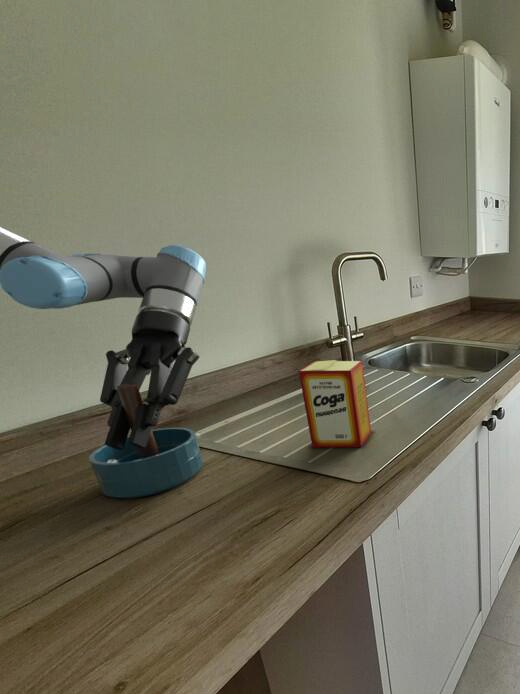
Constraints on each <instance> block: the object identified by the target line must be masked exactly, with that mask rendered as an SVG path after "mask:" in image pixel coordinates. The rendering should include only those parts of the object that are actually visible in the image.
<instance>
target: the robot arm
mask: <svg viewBox="0 0 520 694" xmlns="http://www.w3.org/2000/svg"><path fill="white" fill-rule="evenodd" d="M206 271H207V264H206V261H205V259H204V258H203V257H202V256H201V255H200V254H199V253H198V252H196V251H194V249H193V250H192V249H191V248H188V247H185V246H183V245H178V244H177V245H176V244H170V245H166V246H163V247H162V248H160V250H159V251H158V252H157V254H156V256H154V257H153V256H129V255H127V256H126V255H117V254H116V255H114V254H102V253H75V254H72V255H63V254H60V253H58V252H56V251H53V250H51V249H49V248H47V247H45V246H42V245H41V244H38V243H36V242H34V241H33V240H30V239H28V238H26V237H24V236H22V235H20V234H18V233H15V232H14V231H11V230H9V229H7V228H5V227H3V226H1V225H0V286H1V289H2V290H3V291H4V293H6V294H8V296H9V297H11V298H12V300H13V301H15V302H16V303H18V304H20V305H22V306H24V307H28V308H31V309H35V310H36V309H37V310H49V309H50V310H51V309H53V310H55V309H57V310H58V309H66V308H72V307H74V306H80V305H84V304H90V303H95V302H102V301H107V300H115V299H120V298H123V299H124V298H125V299H126V298H128V299H129V298H131V299H132V298H133V299H134V298H135V299H136V298H137V299H138V298H139V299H141V298H142V299H141V303H140V304H139V307H138V310H137V313H138V314H137V315H136V316H135V320H134V322H133V325H132V327H131V340H130V341H129V342H128V344H127V345H126V346H125V349H122V350H119V351H117V352H116V351H114V350H107V352H106V353H105V357H106V360H107V365H106V370H105V375H104V380H103V384H102V389H101V392H100V398H99V402H100V403H102V404H104V405H106V406H108V407H110V408H111V410H110V414H109V416H108V419H107V423H106V425H107V426H108V427H109V428H108V429H109V430H108V432H107V435H106V439H105V440H104V441H105V442H104V444H103V446H104V445H107V446H109V447H112V448H114V449H117V450H123V449H124V446H125V443H126V440H127V436H130V437H129V440H128V443H129V444H131V445H134V446H136V447H138V448H146V445H147V441H148V438H149V435H150V431H151V429H153V428H152V427H156V426H157V425H158V423H159V420H160V417H161V413H162V410H163V409H164V408H165V407H166V406H169V405H171V406H174V405H177V404H178V402H179V399H180V397H181V395H182V393H183V389H184V387H185V385H186V383H187V380H188V377H189V375H190V372H191V370H192V368H193V366H194V365H195V364H196V362H197V361H198V360H199V359H200V355H199V353H197V352H196V351H195V350H194V349H193V348H191V346H190V347H189V346H187V347H186V344H187V342H188V339H189V335H190V332H191V326H192V325H193V320H194V316H195V313H196V309H197V305H198V302H199V298H200V294H201V291H202V288H203V285H204V284H205V282H206V280H205V277H206ZM149 375H150V376H149ZM147 376H149V382H148V389H147V390H148V391H147V395H146V397H145V398H142V401H143V402H145V403H143V404H140V405H139V408H138V411H137V415H136V418H135V421H134V424H133V427H132V431H131V428H130V425H129V422H128V420H127V417H126V414H125V411H124V408H123V405H122V402H121V399H120V396H119V393H118V390H117V386H119V385H122V384H127V383H137V385H138V388H139V391H140V389H141V388H142V386H143V383H144V381H145V379H146V377H147Z"/></svg>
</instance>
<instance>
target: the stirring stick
mask: <svg viewBox="0 0 520 694" xmlns="http://www.w3.org/2000/svg"><path fill="white" fill-rule="evenodd" d="M117 390H118V393H119V396H120V399H121V402H122V405H123V408H124V411H125V414H126V417H127V420H128V422H129V425H130V432H131V431H132V427H133V424H134V421H135V418H136V415H137V411H138V408H139V405H140V404H144V400H143V398H142V395H141V391H140V390H139V388H138V385H137V383H127V384H122V385H119V386H117ZM152 430H153V428H151V431H150V435H149V438H148V441H147V445H146V448H138V447H137V449H138V452H139V455H140V458H141V459H143V458H148V457H151V456H155V455H158V454H159V451H158V447H157V444H156V441H155V438H154V435H153V432H152Z"/></svg>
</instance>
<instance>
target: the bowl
mask: <svg viewBox="0 0 520 694" xmlns="http://www.w3.org/2000/svg"><path fill="white" fill-rule="evenodd" d="M152 432H153V435H154V438H155V441H156V444H157V447H158V451H159V454H158V455H155V456H151V457H148V458H143V459H141V458H140V455H139V452H138V449H137V447H136V446H134V445H131V444H129V443H128V440H129V437H130V435H128V436H127V440H126V443H125V446H124V449H123V450H117V449H114V448H112V447H109V446H107V445H104V444H103V445H102V446H100V447H98V448H96V449H95V450H94V451H93V452H92V453H91V454H90V455H89V457H88V460H89V462H90V464H91V468H92V470H93V473H94V475H95V478H96V480H97V481H96V482H97V483H98V486H99V489H100V491H101V493H102V494H103V495H105V496H107V497H112V498H119V499H134V498H141V497H142V498H143V497H147V496H151V495H156V494H158V493H159V494H160V493H162V492H165V491H168V490H170V489H173V488H175V487H177V486H179V485H182V484H183V483H186V481H189V480H190V479H191V478H193V476H195V475H196V473H198V472H199V471H200V470H201V469H202V468H203V465H204V460H203V456H202V452H201V449H200V445H199V441H198V438H197V435H196V431H194V430H193V429H190V428H188V427H165V428H157V429H152Z"/></svg>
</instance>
